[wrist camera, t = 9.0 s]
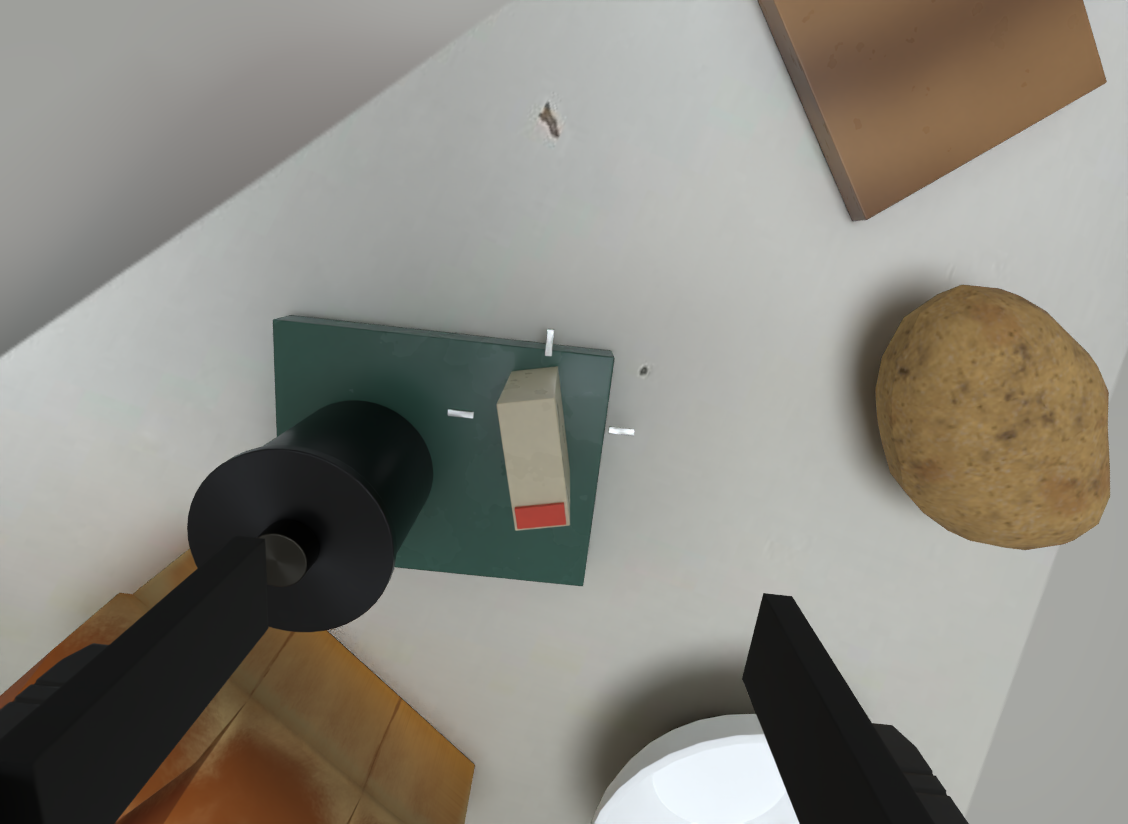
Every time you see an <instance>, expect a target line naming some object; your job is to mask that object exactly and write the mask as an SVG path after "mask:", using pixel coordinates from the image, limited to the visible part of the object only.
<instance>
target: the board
mask: <svg viewBox="0 0 1128 824" xmlns="http://www.w3.org/2000/svg"><path fill="white" fill-rule="evenodd" d="M758 2H759V4H760V7H761V9H762V11H763V14H764V16H765V18H766V21H767V23H768V25H769V28H770V30H771V32H772V35H773V37H774V39H775V42H776V44H777V46H778V49H779V51H780V53H781V56H782V58H783V60H784V63H785V65H786V67H787V70H788V72H789V74H790V77H791V79H792V81H793V84H794V86H795V88H796V91H797V93H798V95H799V98H800V100H801V102H802V105H803V107H804V109H805V112H806V114H807V116H808V119H809V121H810V123H811V126H812V128H813V130H814V133H815V135H816V137H817V139H818V142H819V144H820V146H821V149H822V151H823V153H824V156H825V158H826V160H827V163H828V165H829V167H830V170H831V172H832V174H833V177H834V179H835V181H836V184H837V186H838V188H839V191H840V193H841V195H842V198H843V200H844V202H845V205H846V207H847V209H848V212H849V214H850V216H851V219H852V221H859V220H867V219H869V218H871V217H873V216H874V215H876V214H878V213H880V212H881V211H883V210H885V209H887V208H888V207H890V206H892V205H894V204H895V203H897V202H899V201H901V200H902V199H904V198H906V197H908V196H909V195H911V194H913V193H915V192H916V191H918V190H920V189H922V188H923V187H925V186H927V185H929V184H930V183H932V182H934V181H935V180H937V179H939V178H941V177H942V176H944V175H946V174H948V173H949V172H951V171H953V170H955V169H956V168H958V167H960V166H962V165H963V164H965V163H967V162H969V161H970V160H972V159H974V158H976V157H977V156H979V155H981V154H983V153H984V152H986V151H988V150H990V149H991V148H993V147H995V146H997V145H998V144H1000V143H1002V142H1004V141H1005V140H1007V139H1009V138H1011V137H1012V136H1014V135H1016V134H1018V133H1019V132H1021V131H1023V130H1025V129H1026V128H1028V127H1030V126H1032V125H1033V124H1035V123H1037V122H1039V121H1040V120H1042V119H1044V118H1045V117H1047V116H1049V115H1051V114H1052V113H1054V112H1056V111H1058V110H1059V109H1061V108H1063V107H1065V106H1066V105H1068V104H1070V103H1072V102H1073V101H1075V100H1077V99H1079V98H1080V97H1082V96H1084V95H1086V94H1087V93H1089V92H1091V91H1093V90H1094V89H1096V88H1098V87H1100V86H1101V85H1103V84H1105V83H1106V82H1107V81H1106V78H1105V74H1104V71H1103V67H1102V64H1101V60H1100V57H1099V54H1098V50H1097V47H1096V43H1095V40H1094V37H1093V33H1092V30H1091V26H1090V23H1089V19H1088V16H1087V13H1086V9H1085V6H1084V2H1083V0H758Z"/></svg>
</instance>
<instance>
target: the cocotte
mask: <svg viewBox="0 0 1128 824" xmlns="http://www.w3.org/2000/svg"><path fill="white" fill-rule="evenodd" d="M432 482H433V466H432V460H431V456H430V453H429V450H428V448H427V445H426V444H425V442H424V440H423V438H422V437H421V435H420V434H419V432H418V431H417V430H416V429H415V428H414V426H413V425H412V424H411V423H410V422H408V421H407V420H406V419H405V418H404V417H402V416H401V415H399V414H398V413H397V412H395V411H393V410H391V409H389V408H387V407H385V406H382V405H379V404H376V403H372V402H368V401H359V400H349V401H341V402H337V403H333V404H330V405H328V406H325V407H323V408H321V409H319V410H318V411H316V412H314V413H313V414H311V415H310V416H308V417H307V418H305V419H304V420H302V421H301V422H299V423H298V424H296V425H295V426H293V427H292V428H290V429H289V430H287V431H285V432H284V433H282V434H281V435H279V436H278V437H276V438H275V439H273V440H272V441H270V442H269V443H267V444H266V445H264V446H263V447H259V448H255V449H251V450H248V451H245V452H243V453H241V454H238V455H236V456H234V457H232V458H231V459H229V460H228V461H226V462H224V463H223V464H221V465H220V466H218V467H217V468H216V469H215V470H214V471H212V472H211V473H210V474H209V475H208V476H207V478H206V479H205V480H204V481H203V482H202V484H201V485H200V487H199V488H198V490H197V492H196V493H195V496H194V498H193V501H192V503H191V506H190V511H189V515H188V526H187V530H188V541H189V546H190V550H191V554H192V556H193V559H194V562H195V564H196V566H197V568H199V567H200V566H201V565H202V564H203V563H204V562H206V561H207V560H208V559H209V558H210V557H211V556H212V555H214V554H215V553H216V552H217V551H218V550H219V549H221V548H222V547H223V546H224V545H225V544H226V543H227V542H229V541H230V540H231V539H232V538H233V537H234V536H245V537H254V538H263V539H265V546H266V573H267V600H268V627H271V628H275V629H279V630H284V631H291V632H318V631H325V630H329V629H333V628H337V627H340V626H342V625H345V624H347V623H349V622H351V621H353V620H355V619H357V618H358V617H360V616H361V615H363V614H364V613H365V612H367V611H368V610H369V609H370V608H371V607H372V606H373V605H374V604H375V603H376V602H377V600H378V599H379V598H380V596H381V595H382V594H383V592H384V590H385V588H386V586H387V584H388V583H389V581H390V579H391V576H392V573H393V570H394V567H395V562H396V554H397V552H398V551H399V549H400V547H401V545H402V544H403V542H404V540H405V538H406V536H407V535H408V533H409V531H410V529H411V527H412V526H413V524H414V522H415V520H416V519H417V517H418V515H419V513H420V511H421V510H422V508H423V506H424V504H425V502H426V500H427V499H428V496H429V494H430V491H431V487H432Z"/></svg>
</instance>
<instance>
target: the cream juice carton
mask: <svg viewBox="0 0 1128 824" xmlns="http://www.w3.org/2000/svg"><path fill="white" fill-rule="evenodd" d="M496 405H497V412H498V419H499V425H500V432H501V439H502V446H503V452H504V459H505V466H506V472H507V479H508V486H509V492H510V499H511V506H512V512H513V519H514V526H515V530H516V531H518V530H528V529H539V528H549V527H560V526H569V525H570V467H569V458H568V449H567V441H566V432H565V423H564V415H563V406H562V397H561V389H560V380H559V372H558V367H557V366H556V367H547V368H537V369H528V370H519V371H512V372H511V374H510V376H509V378H508V380H507V382H506V385H505V387H504V389H503V391H502V393H501V395H500V398H499V400H498V402H497V404H496Z"/></svg>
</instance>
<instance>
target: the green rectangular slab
mask: <svg viewBox="0 0 1128 824" xmlns="http://www.w3.org/2000/svg"><path fill="white" fill-rule="evenodd" d="M553 339H554V329H547V339H546V343H538V342H529V341H520V340H511V339H502V338H493V337H484V336H475V335H466V334H457V333H448V332H439V331H430V330H421V329H412V328H403V327H394V326H385V325H376V324H367V323H358V322H349V321H340V320H331V319H322V318H313V317H304V316H295V315H289V316H285V317H281V318H277V319H273V341H274V369H275V398H276V427H277V437H278V436H279V435H281V434H282V433H284V432H285V431H287V430H289V429H290V428H292V427H293V426H295V425H296V424H298V423H299V422H301V421H302V420H304V419H305V418H307V417H308V416H310V415H311V414H313V413H314V412H316V411H318V410H319V409H321V408H323V407H325V406H328V405H330V404H333V403H337V402H341V401H349V400H359V401H368V402H372V403H376V404H379V405H382V406H385V407H387V408H389V409H391V410H393V411H395V412H397V413H398V414H399V415H401V416H402V417H404V418H405V419H406V420H407V421H408V422H410V423H411V424H412V425H413V426H414V428H415V429H416V430H417V431H418V432H419V434H420V435H421V437H422V438H423V440H424V442H425V444H426V445H427V448H428V450H429V453H430V456H431V460H432V466H433V482H432V487H431V491H430V494H429V496H428V499H427V500H426V502H425V504H424V506H423V508H422V510H421V511H420V513H419V515H418V517H417V519H416V520H415V522H414V524H413V526H412V527H411V529H410V531H409V533H408V535H407V536H406V538H405V540H404V542H403V544H402V545H401V547H400V549H399V551H398V552H397V554H396V562H395V567H398V568H408V569H418V570H427V571H437V572H447V573H457V574H467V575H477V576H486V577H496V578H506V579H516V580H526V581H536V582H545V583H555V584H565V585H575V586H583V583H584V576H585V569H586V562H587V554H588V547H589V540H590V533H591V525H592V518H593V511H594V504H595V496H596V489H597V482H598V474H599V467H600V460H601V453H602V445H603V438H604V431H605V424H606V416H607V409H608V402H609V395H610V387H611V380H612V373H613V366H614V356H613V353H612V351H610V350H601V349H592V348H583V347H574V346H565V345H556V344H553ZM556 366H557V367H558V372H559V380H560V389H561V397H562V406H563V415H564V423H565V432H566V441H567V449H568V458H569V467H570V525H569V526H560V527H549V528H539V529H528V530H518V531H516V530H515V526H514V519H513V512H512V506H511V499H510V492H509V486H508V479H507V472H506V466H505V459H504V452H503V446H502V439H501V432H500V425H499V419H498V412H497V405H496V404H497V402H498V400H499V398H500V395H501V393H502V391H503V389H504V387H505V385H506V382H507V380H508V378H509V376H510V374H511V372H512V371H519V370H528V369H537V368H547V367H556ZM634 431H635V430H634V429H630V428H621V427H612V426H609V430H608V433H612V434H621V435H630V436H634Z"/></svg>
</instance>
